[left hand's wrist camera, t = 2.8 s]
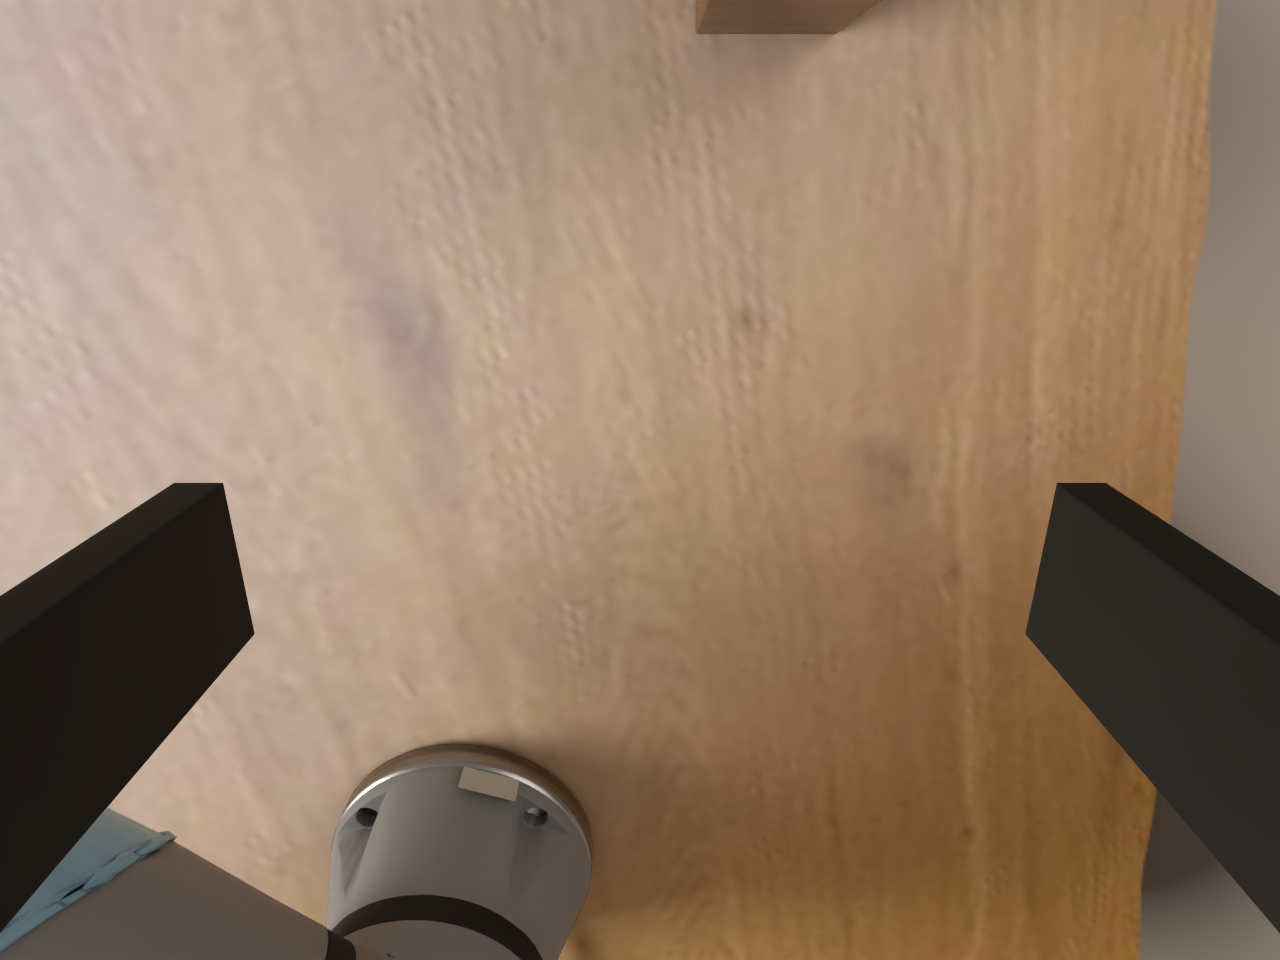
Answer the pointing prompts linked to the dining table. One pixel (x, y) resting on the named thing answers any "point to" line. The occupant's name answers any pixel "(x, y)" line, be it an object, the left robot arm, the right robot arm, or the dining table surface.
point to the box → (777, 16)
